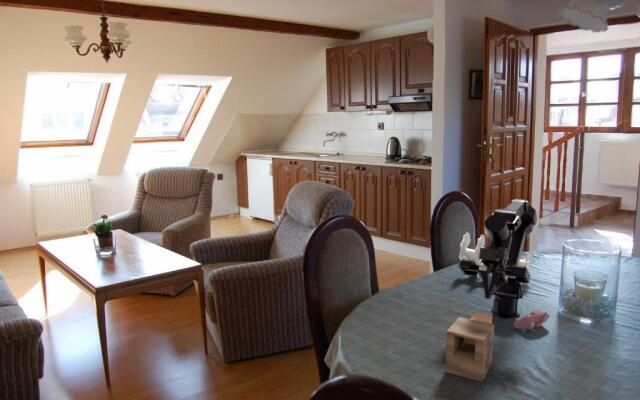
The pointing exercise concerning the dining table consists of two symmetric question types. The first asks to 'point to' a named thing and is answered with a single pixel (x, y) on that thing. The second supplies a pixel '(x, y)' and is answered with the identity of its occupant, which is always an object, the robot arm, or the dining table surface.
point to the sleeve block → (469, 348)
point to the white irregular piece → (474, 254)
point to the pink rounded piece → (532, 320)
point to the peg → (478, 318)
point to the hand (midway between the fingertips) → (487, 298)
